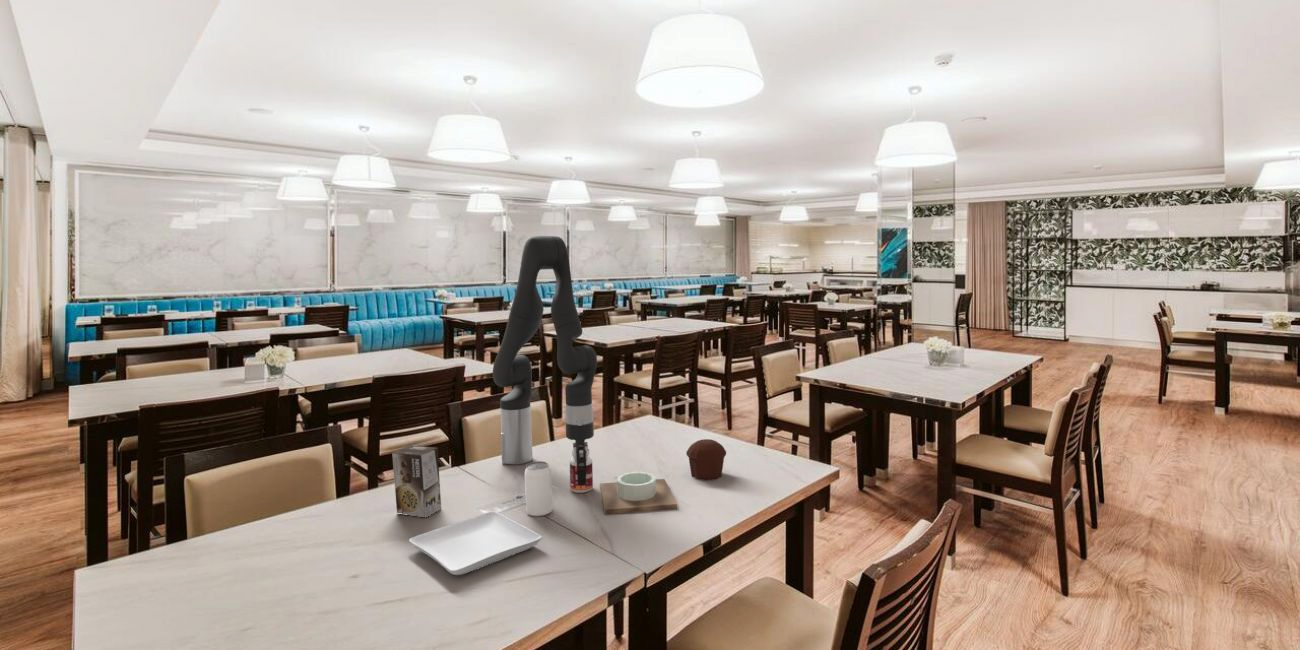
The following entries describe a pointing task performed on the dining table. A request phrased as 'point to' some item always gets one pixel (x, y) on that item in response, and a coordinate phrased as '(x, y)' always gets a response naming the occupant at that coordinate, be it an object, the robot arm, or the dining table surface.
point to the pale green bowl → (636, 486)
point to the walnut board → (620, 505)
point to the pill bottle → (574, 476)
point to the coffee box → (417, 480)
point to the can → (538, 489)
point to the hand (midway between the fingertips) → (581, 479)
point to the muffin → (706, 459)
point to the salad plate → (475, 542)
